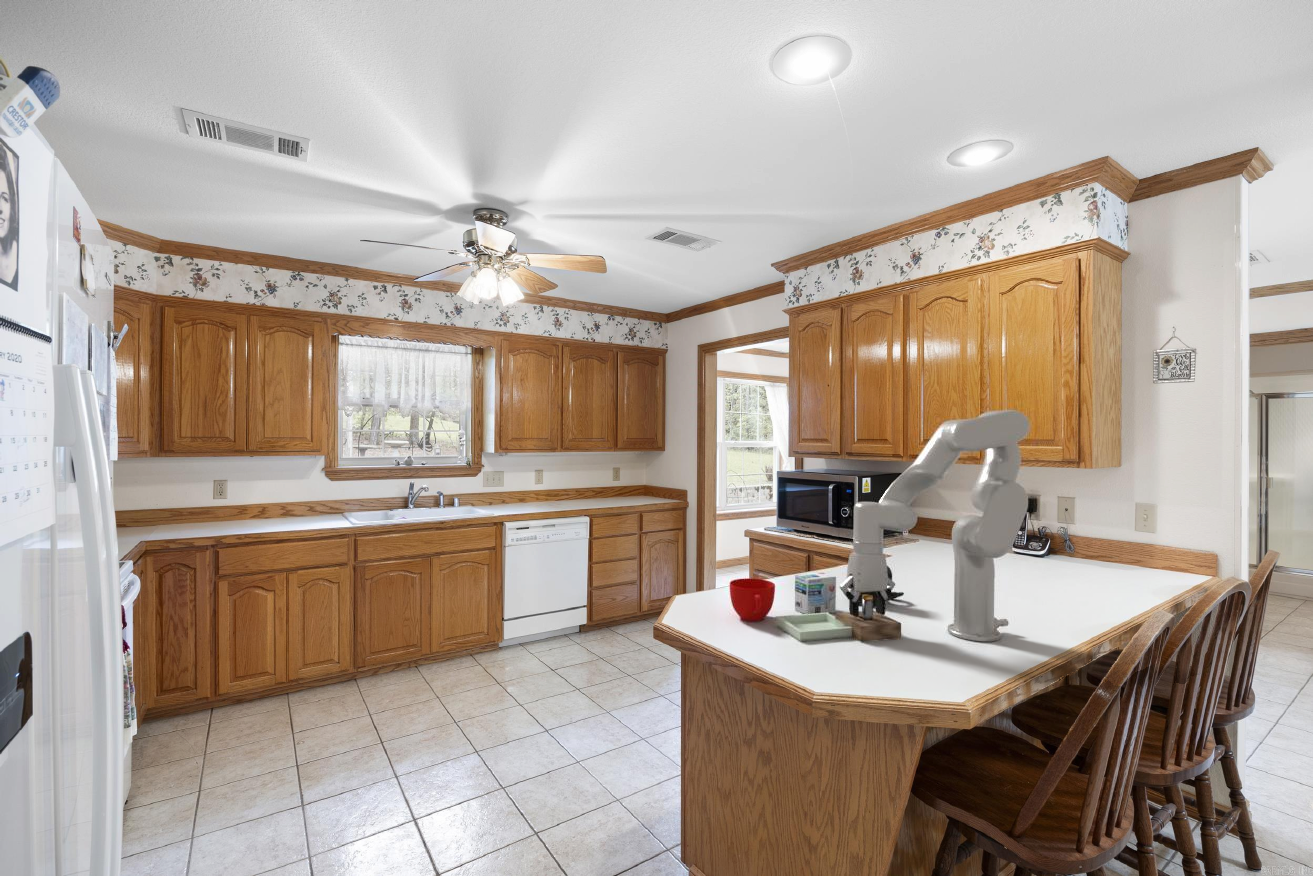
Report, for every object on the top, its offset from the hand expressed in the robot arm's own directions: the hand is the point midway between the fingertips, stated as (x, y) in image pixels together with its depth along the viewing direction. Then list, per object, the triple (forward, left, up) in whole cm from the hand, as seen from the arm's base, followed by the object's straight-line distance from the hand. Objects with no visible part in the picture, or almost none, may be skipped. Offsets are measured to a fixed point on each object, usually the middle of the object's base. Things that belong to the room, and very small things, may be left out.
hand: (867, 614), depth 165 cm
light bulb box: (+3, -22, -5) cm, 23 cm away
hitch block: (0, 0, -5) cm, 5 cm away
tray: (+13, -5, -5) cm, 15 cm away
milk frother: (-21, -26, -5) cm, 34 cm away
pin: (0, 0, -5) cm, 5 cm away
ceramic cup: (+25, -18, -5) cm, 31 cm away
